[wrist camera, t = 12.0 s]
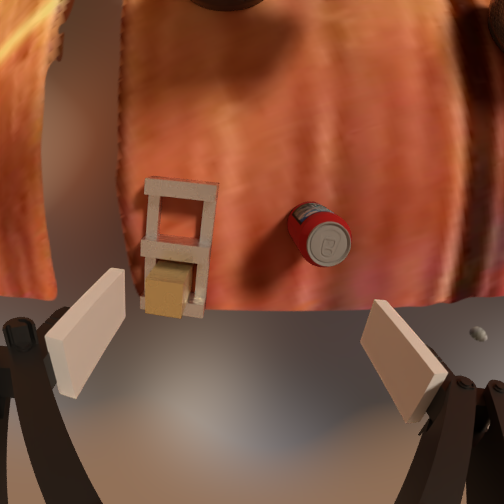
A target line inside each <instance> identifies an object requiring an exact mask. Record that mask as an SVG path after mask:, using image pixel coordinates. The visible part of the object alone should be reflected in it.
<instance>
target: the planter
mask: <svg viewBox="0 0 504 504" xmlns="http://www.w3.org/2000/svg"><path fill="white" fill-rule="evenodd" d="M488 26H489V30H490V32H491V35H492V37H493V39H494V41H495V42H496V44H497V45H498V47H499V48H500V49H501V50H502V51H503V52H504V0H491V1H490V5H489V18H488Z"/></svg>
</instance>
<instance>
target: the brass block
mask: <svg viewBox="0 0 504 504" xmlns="http://www.w3.org/2000/svg"><path fill="white" fill-rule="evenodd" d="M193 266H194V263H188V262H180V261H173V260H166V259H159V261H158V262H157V263H156V265H155V266H154V267H153V269H152V270H151V272H150V273H149V274H148V276H147V277H146V279H145V313H148V314H155V315H160V316H167V317H173V318H180V319H181V318H182V315H183V312H184V309H185V306H186V303H187V300H188V297H189V294H190V291H191V288H192V277H193Z"/></svg>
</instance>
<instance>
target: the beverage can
mask: <svg viewBox="0 0 504 504" xmlns="http://www.w3.org/2000/svg"><path fill="white" fill-rule="evenodd" d="M287 226H288V231H289V234H290V236H291V237H292V239H293V241H294V243H295V244H296V246H297V248H298V249H299V251H300V253H301V254H302V256H303V257H304V258H305V260H306V261H308V262H309V263H310V264H312V265H315V266H318V267H329V266H334V265H337V264H339V263H340V262H342V261H343V260H344V259H345V258H346V256H347V255H348V253H349V251H350V247H351V242H352V235H351V231H350V228H349V226H348V224H347V223H346V222H345V221H344V220H343V219H342V218H341V217H339V216H338V215H336V214H335V213H333V212H332V211H330V210H329V209H327V208H326V207H324V206H322V205H320V204H318V203H316V202H304V203H301V204H299V205H298V206H296V207H295V208H294V209H293V210H292V212H291V213H290V215H289V218H288V222H287Z"/></svg>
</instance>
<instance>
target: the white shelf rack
mask: <svg viewBox="0 0 504 504" xmlns="http://www.w3.org/2000/svg"><path fill="white" fill-rule="evenodd" d="M218 188H219V183H214V182H206V181H197V180H188V179H179V178H168V177H158V176H151V177H148V178H145V187H144V194H146V195H149V197H148V211H147V226H146V236H144V237H143V238H142V239H141V256H144V257H145V279H146V277H147V276H148V274H149V273H150V272H151V270H152V269H153V267H154V266H155V265H156V263H157V262H158V259H166V260H173V261H180V262H188V263H196V264H197V274H196V286H195V293H194V292H190V294H189V297H188V300H187V303H186V306H185V309H184V312H183V315H182V316H190V317H196V318H203V315H204V310H205V305H206V294H207V284H208V274H209V265H210V255H211V246H212V237H213V229H214V220H215V212H216V204H217V196H218ZM162 196H165V197H175V198H184V199H192V200H201V201H204V205H203V213H202V223H201V232H200V239H196V238H188V237H180V236H172V235H164V234H159V233H160V219H161V206H162ZM140 309H143V310H145V282H144V291H143V292H142V294H141V295H140Z"/></svg>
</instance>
